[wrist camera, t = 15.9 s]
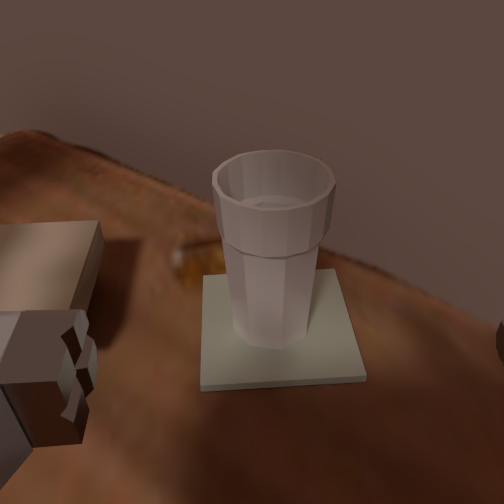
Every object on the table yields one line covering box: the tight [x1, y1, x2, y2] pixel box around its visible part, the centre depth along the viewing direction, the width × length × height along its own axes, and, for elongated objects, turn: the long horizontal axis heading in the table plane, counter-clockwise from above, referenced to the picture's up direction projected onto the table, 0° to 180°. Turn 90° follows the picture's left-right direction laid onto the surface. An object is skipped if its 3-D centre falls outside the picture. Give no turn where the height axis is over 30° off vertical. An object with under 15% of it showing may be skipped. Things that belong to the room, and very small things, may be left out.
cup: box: [212, 149, 336, 350], centre depth 29 cm, size 7×7×11 cm
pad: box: [200, 269, 367, 392], centre depth 33 cm, size 10×10×1 cm
